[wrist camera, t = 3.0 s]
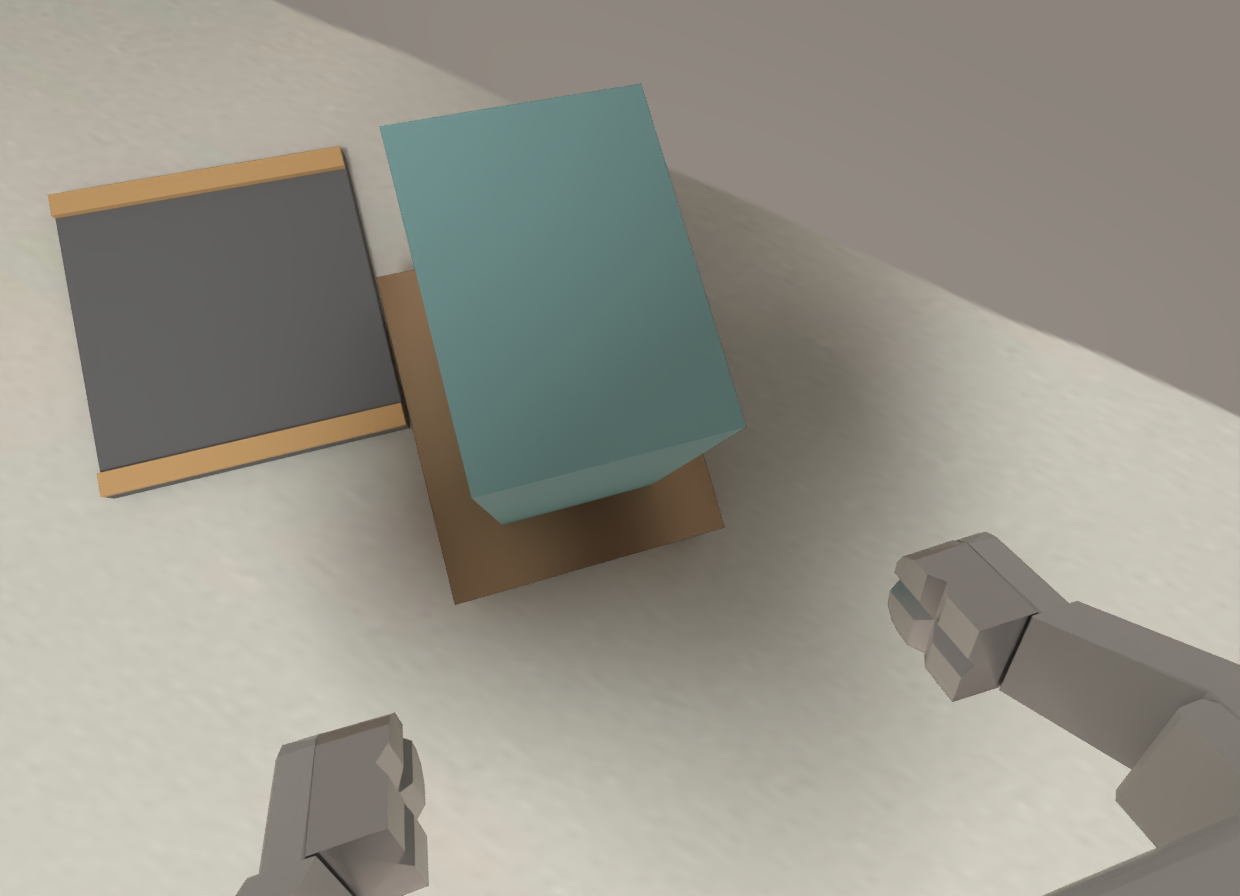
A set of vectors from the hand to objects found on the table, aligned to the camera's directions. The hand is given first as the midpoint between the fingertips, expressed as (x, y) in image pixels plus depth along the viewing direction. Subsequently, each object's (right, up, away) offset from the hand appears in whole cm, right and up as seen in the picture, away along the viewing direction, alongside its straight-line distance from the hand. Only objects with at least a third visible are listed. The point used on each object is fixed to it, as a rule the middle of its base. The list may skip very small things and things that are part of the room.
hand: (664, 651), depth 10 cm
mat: (-15, +8, +13) cm, 21 cm away
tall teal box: (-3, +5, +11) cm, 13 cm away
